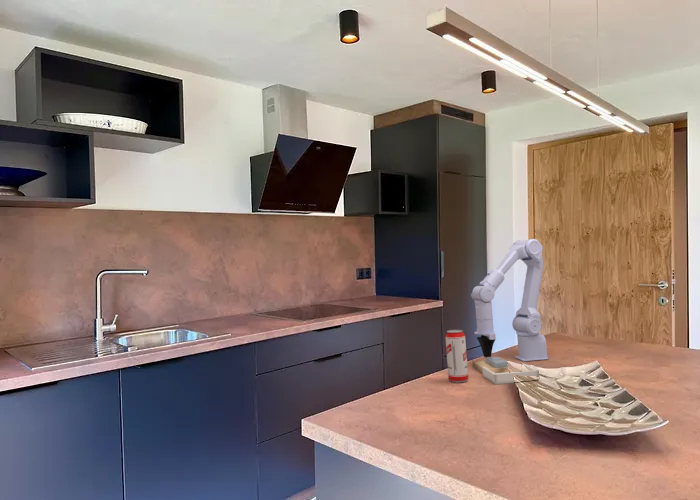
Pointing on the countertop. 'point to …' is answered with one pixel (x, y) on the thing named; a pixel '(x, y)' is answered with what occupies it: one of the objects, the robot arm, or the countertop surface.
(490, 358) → the tile rear
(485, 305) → the robot arm
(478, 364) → the board
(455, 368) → the beer can
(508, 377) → the tray
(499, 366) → the tile front
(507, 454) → the countertop surface
